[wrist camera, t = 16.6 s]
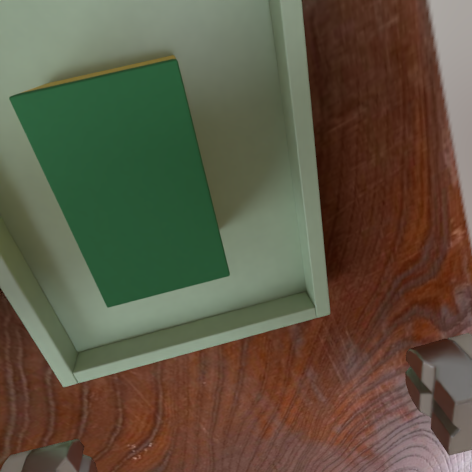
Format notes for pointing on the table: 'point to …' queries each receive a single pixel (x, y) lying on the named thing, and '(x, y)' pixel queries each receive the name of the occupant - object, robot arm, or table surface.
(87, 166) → the sponge
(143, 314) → the tray
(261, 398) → the table surface
